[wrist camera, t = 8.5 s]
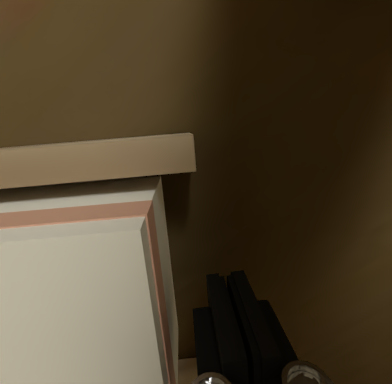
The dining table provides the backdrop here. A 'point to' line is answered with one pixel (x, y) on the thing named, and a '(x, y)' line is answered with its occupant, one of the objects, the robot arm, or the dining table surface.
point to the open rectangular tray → (101, 171)
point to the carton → (87, 285)
